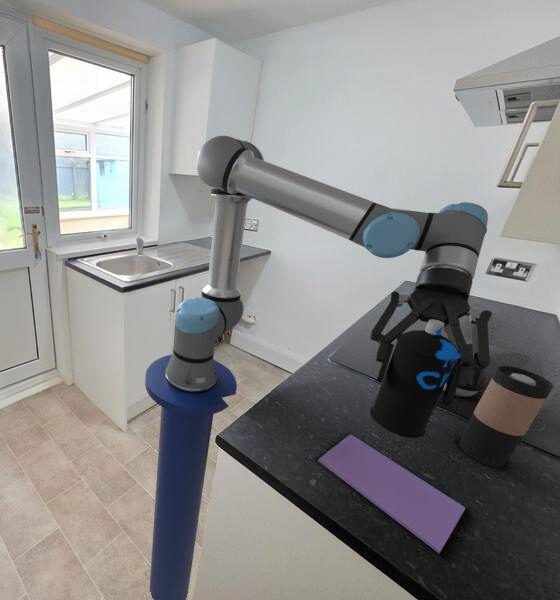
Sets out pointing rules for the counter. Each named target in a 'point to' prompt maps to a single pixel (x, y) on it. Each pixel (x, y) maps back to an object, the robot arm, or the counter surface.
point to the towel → (395, 491)
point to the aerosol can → (414, 380)
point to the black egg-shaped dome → (471, 380)
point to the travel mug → (504, 414)
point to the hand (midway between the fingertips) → (411, 390)
